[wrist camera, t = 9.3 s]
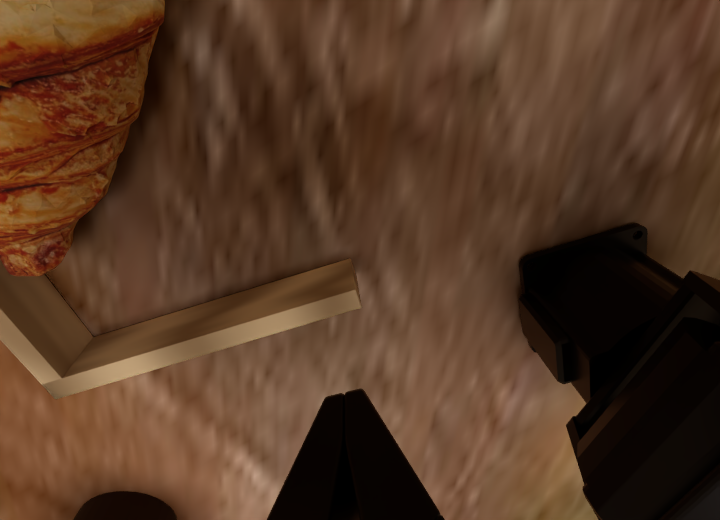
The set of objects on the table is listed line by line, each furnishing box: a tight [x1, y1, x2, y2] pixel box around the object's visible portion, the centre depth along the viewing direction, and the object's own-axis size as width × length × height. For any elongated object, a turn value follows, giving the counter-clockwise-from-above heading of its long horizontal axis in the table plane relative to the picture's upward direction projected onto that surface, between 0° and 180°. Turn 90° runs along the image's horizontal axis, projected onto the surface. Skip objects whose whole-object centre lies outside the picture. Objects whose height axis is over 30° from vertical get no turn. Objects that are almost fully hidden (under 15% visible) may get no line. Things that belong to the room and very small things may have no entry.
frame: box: [0, 259, 362, 399], centre depth 13 cm, size 15×28×4 cm, turn 17°
